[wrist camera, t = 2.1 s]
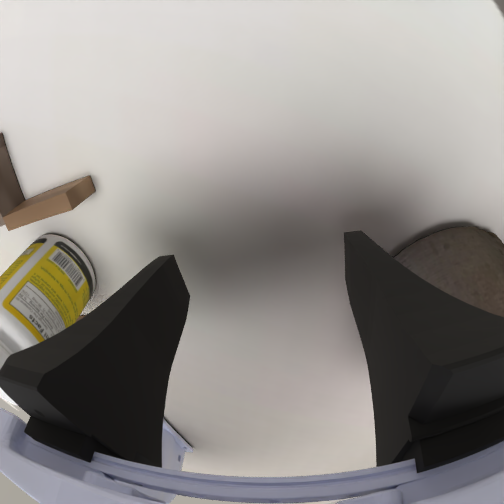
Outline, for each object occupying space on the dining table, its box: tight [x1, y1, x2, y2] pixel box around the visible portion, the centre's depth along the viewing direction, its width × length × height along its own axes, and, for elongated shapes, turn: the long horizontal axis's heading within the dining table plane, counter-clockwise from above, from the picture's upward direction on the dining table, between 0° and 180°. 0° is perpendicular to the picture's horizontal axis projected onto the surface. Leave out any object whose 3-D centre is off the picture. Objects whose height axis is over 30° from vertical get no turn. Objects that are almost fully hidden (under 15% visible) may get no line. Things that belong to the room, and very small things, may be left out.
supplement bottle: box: [0, 234, 95, 405], centre depth 11 cm, size 5×5×8 cm
